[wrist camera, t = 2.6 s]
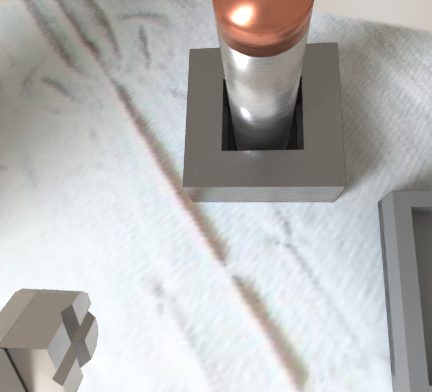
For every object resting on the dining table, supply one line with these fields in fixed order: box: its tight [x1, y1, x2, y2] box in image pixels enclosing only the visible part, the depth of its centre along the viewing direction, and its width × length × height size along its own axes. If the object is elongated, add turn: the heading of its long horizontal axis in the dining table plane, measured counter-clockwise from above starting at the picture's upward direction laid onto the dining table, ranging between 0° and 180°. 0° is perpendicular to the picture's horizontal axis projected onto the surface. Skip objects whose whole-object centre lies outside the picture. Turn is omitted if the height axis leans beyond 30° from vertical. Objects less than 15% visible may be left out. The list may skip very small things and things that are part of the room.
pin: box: [212, 0, 314, 151], centre depth 22 cm, size 4×4×15 cm
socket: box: [183, 42, 346, 202], centre depth 27 cm, size 10×10×4 cm
